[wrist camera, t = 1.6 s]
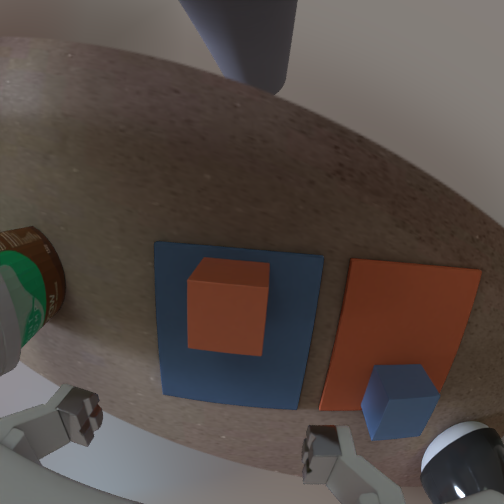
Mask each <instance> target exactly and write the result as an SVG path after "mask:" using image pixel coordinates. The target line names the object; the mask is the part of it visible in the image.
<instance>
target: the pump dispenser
mask: <svg viewBox="0 0 504 504" xmlns="http://www.w3.org/2000/svg"><path fill="white" fill-rule="evenodd" d="M420 480H421V483H422V486H423V488H424V490H425V492H426V494H427V495H428V497H429V499H430V500H431V502H432V503H433V504H443V503H446V502H450V501H453V500H457V499H460V498H463V497H466V496H469V495H472V494H475V493H478V492H480V491H484V490H488V489H492V490H495V491H497V492H499V493H501V494H503V495H504V445H503V442H502V440H501V438H500V436H499V434H498V433H497V431H496V430H495V429H493V428H489V427H488V426H487V425H485V424H483V423H480V422H476V421H467V422H462V423H459V424H456V425H454V426H452V427H450V428H448V429H446V430H445V431H444V432H442V433H441V434H440V435H438V436H437V437H436V438H435V439H434V440H433V441H432V443H431V444H430V445H429V447H428V448H427V450H426V452H425V454H424V456H423V460H422V466H421V476H420Z"/></svg>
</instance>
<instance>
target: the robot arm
mask: <svg viewBox="0 0 504 504" xmlns="http://www.w3.org/2000/svg"><path fill="white" fill-rule="evenodd" d="M98 402H99V397H98V394H96V393H93V392H90V391H87V390H84V389H81V388H78V387H75V386H72V385H69V384H63V385H62V386H61V387H60V388H59V390H58V391H57V392H56V393H55V394H54V395H53V397H51V399H50V400H49V401H48V402H47V403H46V404H45V405H44V404H41V405H38V406H35V407H32V408H29V409H26V410H23V411H20V412H17V413H14V414H11V415H8V416H5V417H2V418H0V504H143V503H139V502H136V501H132V500H129V499H125V498H122V497H119V496H116V495H112V494H110V493H107V492H104V491H101V490H98V489H96V488H93V487H90V486H88V485H85V484H82V483H80V482H77V481H75V480H72V479H70V478H68V477H65V476H63V475H61V474H59V473H56V472H54V471H52V470H50V469H48V468H46V467H44V466H42V464H41V463H40V461H39V459H41V458H43V457H44V456H46V455H48V454H50V453H52V452H54V451H55V450H57V449H59V448H61V447H62V446H64V445H66V444H68V443H69V442H70V441H72V442H74V443H77V444H81V445H83V446H86V447H88V446H89V444H90V443H91V441H92V439H93V438H94V434H93V432H94V431H96V430H98V429H99V428H100V426H101V424H102V420H103V412H102V408H101V407H100V406H99V405H98ZM306 437H307V438H306V439H304V442H303V446H302V463H303V464H304V467H303V471H302V472H303V484H326V486H327V487H328V488H329V490H330V491H331V492H332V493H333V495H334V496H335V497H336V498H337V499H338V500H339V502H340V503H341V504H406V503H405V499H404V496H403V493H402V490H401V487H399V486H398V485H397V484H395V483H394V482H393V481H392V480H390V479H389V478H388V477H386V476H385V475H384V474H383V473H381V472H380V471H379V470H378V469H376V468H375V467H374V466H373V465H372V464H370V463H369V462H368V461H367V460H365V459H364V458H363V457H362V456H361V455H357V454H356V450H355V446H354V442H353V438H352V434H351V430H350V427H349V426H348V425H335V426H334V425H309V426H308V427H307V431H306ZM443 504H504V495H503V494H501V493H499V492H497V491H495V490H492V489H488V490H484V491H480V492H478V493H475V494H472V495H469V496H466V497H463V498H460V499H457V500H453V501H450V502H446V503H443Z"/></svg>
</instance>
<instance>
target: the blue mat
mask: <svg viewBox="0 0 504 504" xmlns="http://www.w3.org/2000/svg"><path fill="white" fill-rule="evenodd" d="M204 257H208V258H219V259H230V260H241V261H252V262H263V263H270V273H269V293H268V303H267V313H266V322H265V332H264V341H263V351H262V356H252V355H242V354H232V353H223V352H215V351H207V350H199V349H192V348H188V328H187V280H188V278H189V277H190V276H191V274H192V273H193V271H194V270H195V269H196V267H197V266H198V265H199V263H200V262H201V260H202V259H203V258H204ZM323 263H324V257H323V256H322V255H312V254H301V253H289V252H278V251H267V250H255V249H244V248H232V247H220V246H209V245H197V244H186V243H174V242H162V241H156V242H155V243H154V269H155V299H156V319H157V334H158V348H159V360H160V371H161V381H162V390H163V394H164V395H169V396H175V397H181V398H187V399H193V400H200V401H206V402H214V403H222V404H230V405H239V406H249V407H260V408H274V409H291V410H297V407H298V403H299V398H300V393H301V389H302V384H303V379H304V374H305V369H306V364H307V359H308V354H309V349H310V343H311V338H312V332H313V327H314V321H315V315H316V309H317V303H318V297H319V290H320V284H321V277H322V270H323Z"/></svg>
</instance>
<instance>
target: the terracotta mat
mask: <svg viewBox="0 0 504 504" xmlns="http://www.w3.org/2000/svg"><path fill="white" fill-rule="evenodd" d="M481 274H482V271H480V270H479V269H468V268H457V267H446V266H435V265H424V264H413V263H402V262H391V261H380V260H368V259H357V258H351V259H350V264H349V270H348V276H347V282H346V287H345V293H344V298H343V304H342V309H341V314H340V319H339V324H338V329H337V333H336V338H335V342H334V347H333V351H332V356H331V360H330V364H329V369H328V373H327V377H326V381H325V385H324V389H323V392H322V396H321V400H320V404H319V410H322V411H349V410H362V408H361V403H362V400H363V397H364V394H365V392H366V389H367V386H368V383H369V380H370V377H371V374H372V370H373V367H374V365H406V364H421V365H422V367H423V368H424V370H425V371H426V373H427V375H428V376H429V378H430V379H431V381H432V382H433V384H434V386H435V387H436V389H437V390H438V392H439V393H440V391H441V389H442V386H443V384H444V382H445V380H446V377H447V375H448V373H449V370H450V368H451V366H452V363H453V361H454V358H455V355H456V353H457V350H458V348H459V345H460V342H461V340H462V337H463V334H464V331H465V328H466V325H467V322H468V319H469V316H470V313H471V310H472V306H473V303H474V300H475V296H476V293H477V289H478V285H479V282H480V278H481Z"/></svg>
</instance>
